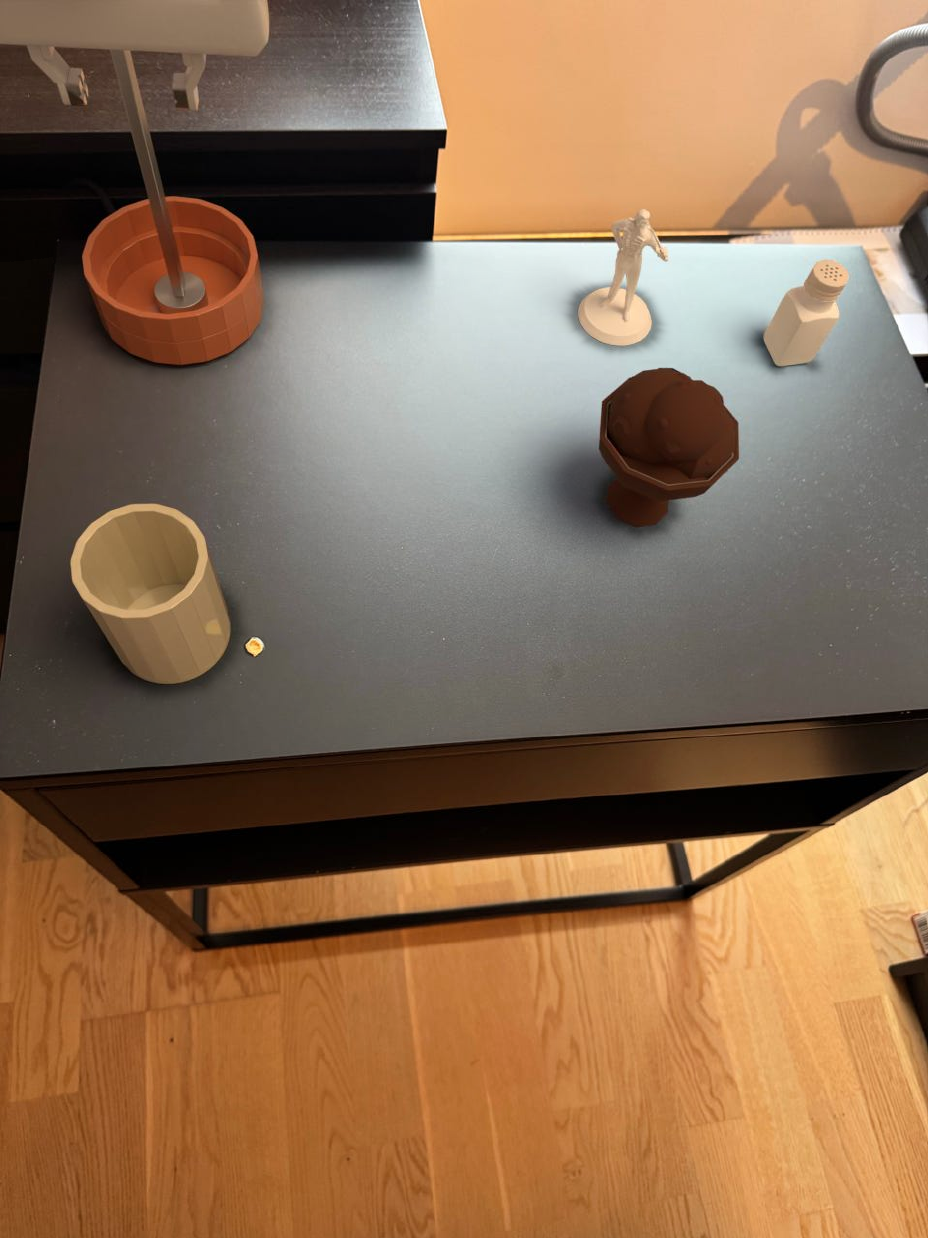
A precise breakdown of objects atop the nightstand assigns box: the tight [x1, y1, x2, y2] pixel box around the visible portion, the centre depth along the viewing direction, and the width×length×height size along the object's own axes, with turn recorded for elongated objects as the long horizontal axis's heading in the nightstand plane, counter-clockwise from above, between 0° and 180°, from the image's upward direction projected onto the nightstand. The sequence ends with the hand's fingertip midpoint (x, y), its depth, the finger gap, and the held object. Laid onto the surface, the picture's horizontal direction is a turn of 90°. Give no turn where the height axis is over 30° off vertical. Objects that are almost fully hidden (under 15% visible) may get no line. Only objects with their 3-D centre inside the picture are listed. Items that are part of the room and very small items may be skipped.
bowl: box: [81, 195, 265, 366], centre depth 79 cm, size 14×14×6 cm
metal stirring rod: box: [109, 50, 208, 314], centre depth 71 cm, size 4×4×24 cm
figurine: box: [577, 208, 669, 347], centre depth 81 cm, size 7×7×12 cm
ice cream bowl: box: [598, 367, 740, 528], centre depth 70 cm, size 11×11×15 cm
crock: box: [69, 503, 232, 685], centre depth 63 cm, size 8×8×11 cm
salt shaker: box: [763, 259, 850, 367], centre depth 82 cm, size 4×4×10 cm
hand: (132, 102), depth 64 cm, fingers open, 6 cm apart
